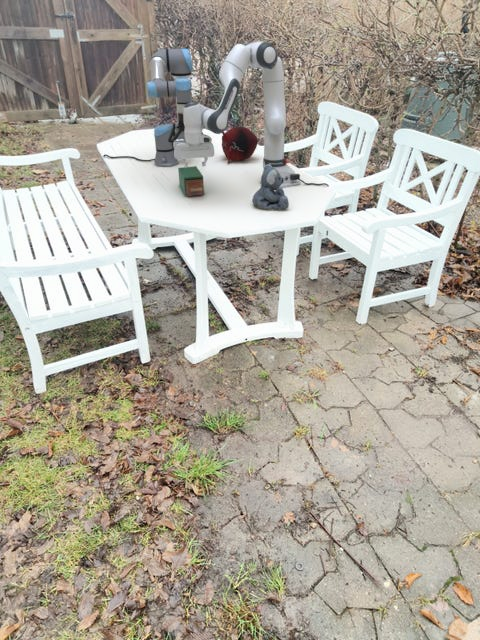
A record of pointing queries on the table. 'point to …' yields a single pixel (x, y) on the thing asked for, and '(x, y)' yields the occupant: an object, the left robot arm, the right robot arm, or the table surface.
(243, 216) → the table surface
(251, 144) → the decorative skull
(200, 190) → the drawer
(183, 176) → the cabinet
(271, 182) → the koala plush
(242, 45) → the right robot arm
